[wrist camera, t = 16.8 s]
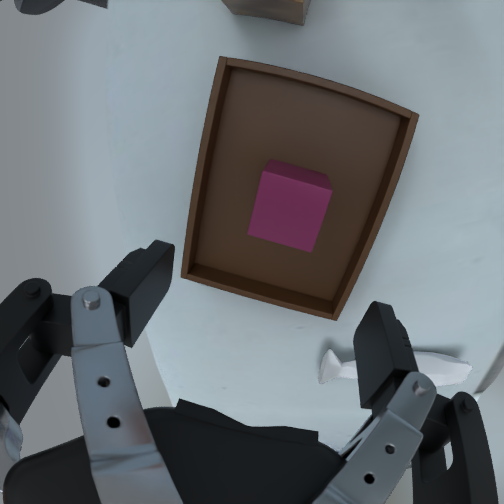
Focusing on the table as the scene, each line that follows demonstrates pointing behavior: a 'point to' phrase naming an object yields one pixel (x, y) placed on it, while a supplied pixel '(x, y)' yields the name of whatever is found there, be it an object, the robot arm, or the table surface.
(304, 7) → the oak block
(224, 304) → the table surface
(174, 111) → the table surface
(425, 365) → the white fish figurine
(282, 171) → the pink block
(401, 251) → the table surface
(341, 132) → the tray
